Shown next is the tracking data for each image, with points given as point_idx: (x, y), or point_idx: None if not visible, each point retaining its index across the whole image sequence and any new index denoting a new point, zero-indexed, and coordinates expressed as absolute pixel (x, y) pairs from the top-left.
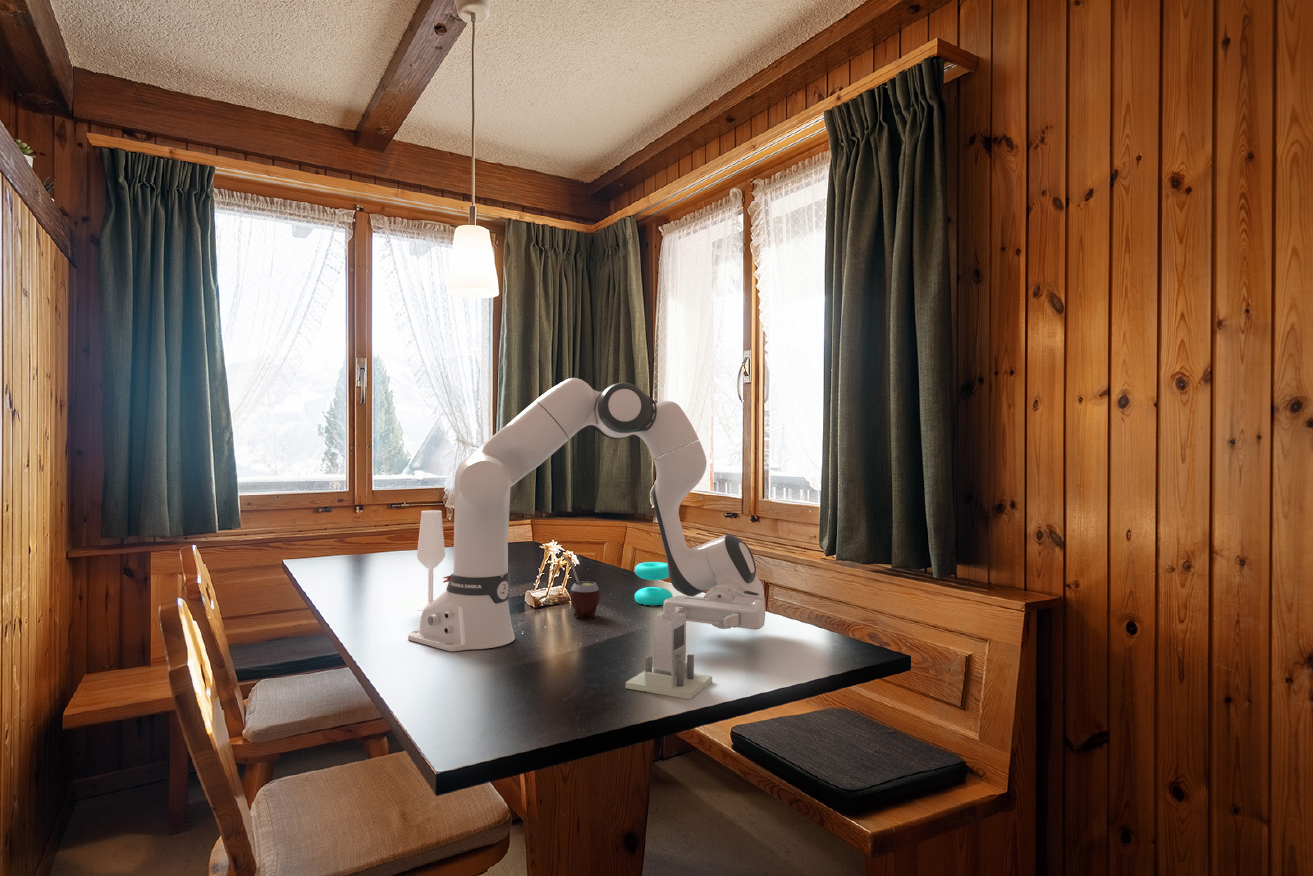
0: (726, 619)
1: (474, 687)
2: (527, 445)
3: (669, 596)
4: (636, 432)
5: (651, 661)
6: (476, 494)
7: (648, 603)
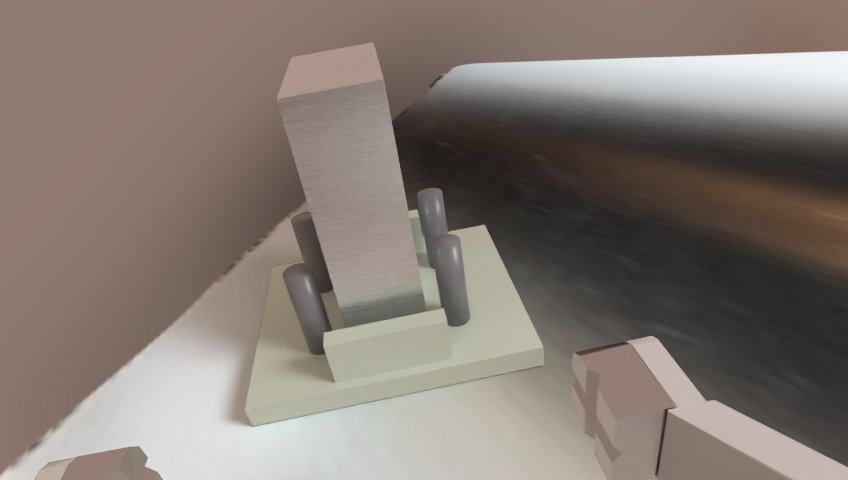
0: (45, 470)
1: (740, 105)
2: None
3: None
4: None
5: (419, 207)
6: None
7: None
